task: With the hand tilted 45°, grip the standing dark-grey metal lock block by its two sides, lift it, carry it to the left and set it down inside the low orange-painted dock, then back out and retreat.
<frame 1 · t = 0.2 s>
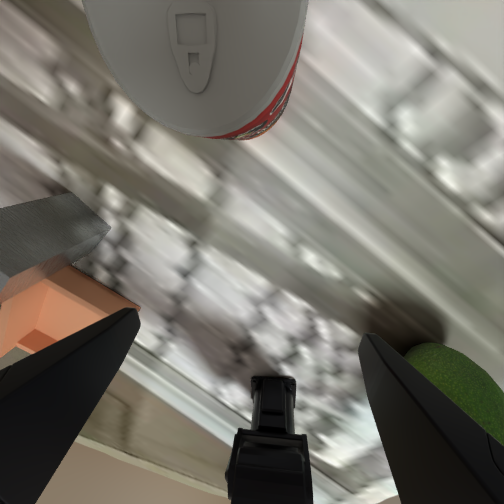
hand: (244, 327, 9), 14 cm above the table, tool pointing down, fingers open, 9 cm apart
lock block: (81, 224, 24), on the table
coupler dock: (81, 317, 31), on the table
fruit: (420, 350, 27), on the table
canned food: (242, 82, 17), on the table
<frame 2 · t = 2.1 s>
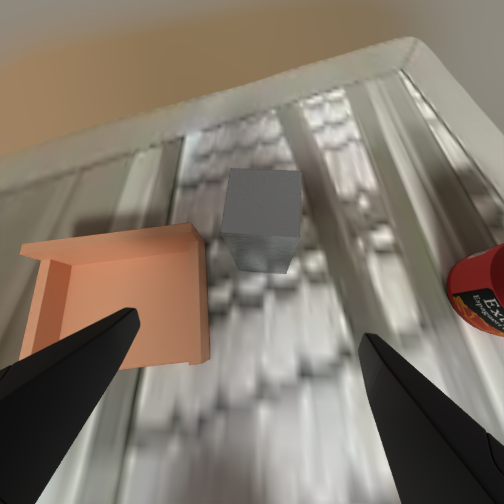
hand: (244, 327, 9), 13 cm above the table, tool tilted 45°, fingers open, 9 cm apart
lock block: (264, 250, 24), on the table
coupler dock: (132, 304, 23), on the table
canned food: (484, 294, 21), on the table
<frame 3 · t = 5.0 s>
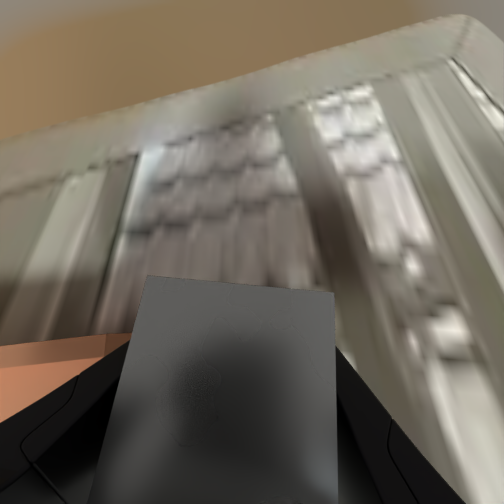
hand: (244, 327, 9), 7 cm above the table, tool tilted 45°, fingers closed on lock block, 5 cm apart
lock block: (251, 349, 14), on the table, touching gripper
coupler dock: (23, 450, 13), on the table
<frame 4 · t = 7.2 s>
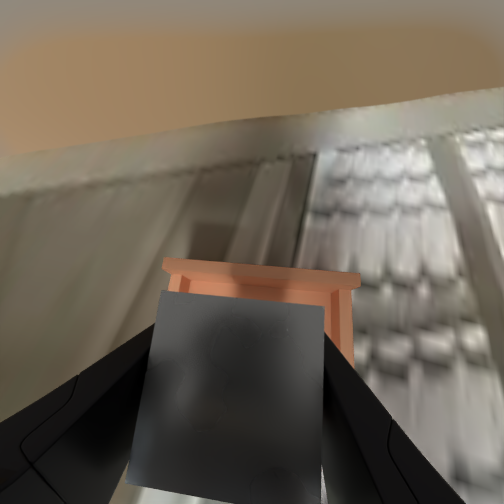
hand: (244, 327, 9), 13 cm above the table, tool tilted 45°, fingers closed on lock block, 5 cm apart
lock block: (253, 336, 16), point 5 cm above the table, tilted 5°, touching gripper
coupler dock: (254, 339, 21), on the table
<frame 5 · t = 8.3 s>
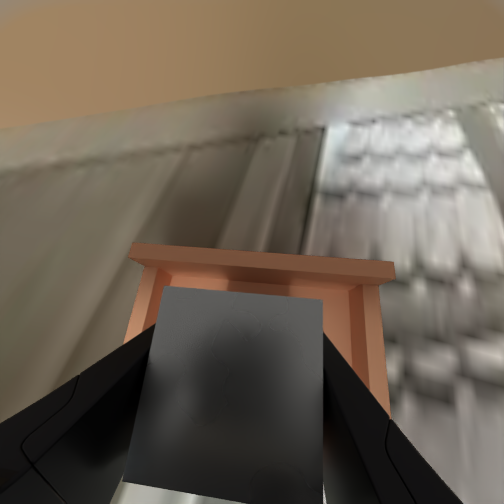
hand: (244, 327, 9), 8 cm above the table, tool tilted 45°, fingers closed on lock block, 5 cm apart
lock block: (252, 344, 16), point 1 cm above the table, touching coupler dock, gripper
coupler dock: (251, 351, 16), on the table
when the fingers open (8 cm above the table, at t = 8.5 s): lock block stays where it is, resting on coupler dock.
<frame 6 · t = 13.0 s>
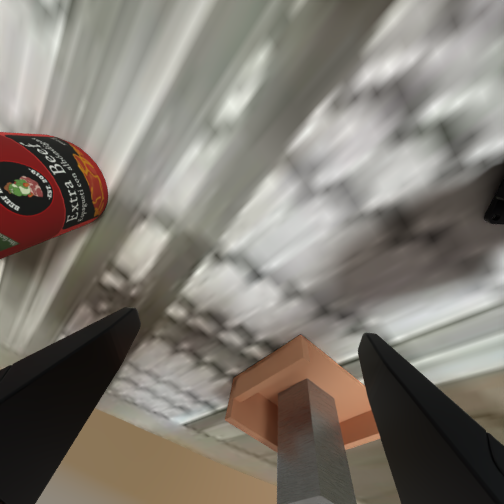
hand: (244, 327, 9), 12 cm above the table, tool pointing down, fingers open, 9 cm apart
lock block: (305, 395, 28), resting on coupler dock
coupler dock: (308, 390, 28), on the table
canned food: (71, 182, 20), on the table
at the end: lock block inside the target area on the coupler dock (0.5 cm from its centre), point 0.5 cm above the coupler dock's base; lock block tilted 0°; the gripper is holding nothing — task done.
